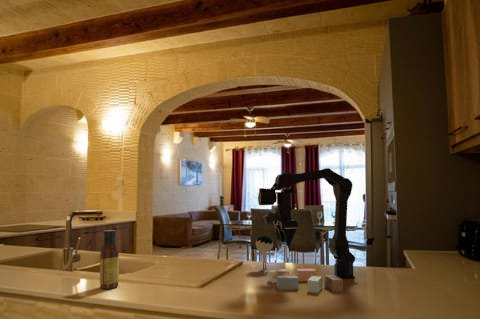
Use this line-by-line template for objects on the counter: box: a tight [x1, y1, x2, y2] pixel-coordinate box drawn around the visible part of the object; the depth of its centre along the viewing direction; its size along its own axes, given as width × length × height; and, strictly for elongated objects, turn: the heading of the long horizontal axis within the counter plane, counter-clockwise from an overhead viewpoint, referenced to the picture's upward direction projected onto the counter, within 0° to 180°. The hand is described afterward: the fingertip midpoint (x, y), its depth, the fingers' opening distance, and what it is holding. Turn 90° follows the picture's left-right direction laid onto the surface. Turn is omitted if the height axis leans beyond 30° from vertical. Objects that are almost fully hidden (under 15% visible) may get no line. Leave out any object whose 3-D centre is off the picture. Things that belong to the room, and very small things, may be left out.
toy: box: [254, 234, 275, 270], centre depth 154 cm, size 9×7×15 cm
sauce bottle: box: [99, 229, 120, 290], centre depth 123 cm, size 7×6×20 cm
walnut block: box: [324, 274, 344, 293], centre depth 122 cm, size 7×4×4 cm, turn 10°
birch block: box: [268, 268, 290, 284], centre depth 133 cm, size 7×4×4 cm, turn 116°
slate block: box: [276, 275, 300, 291], centre depth 123 cm, size 7×4×4 cm, turn 96°
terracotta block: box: [295, 268, 317, 282], centre depth 135 cm, size 7×4×4 cm, turn 94°
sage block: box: [307, 275, 323, 294], centre depth 121 cm, size 7×4×4 cm, turn 156°
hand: (285, 244), depth 138 cm, fingers open, 9 cm apart
